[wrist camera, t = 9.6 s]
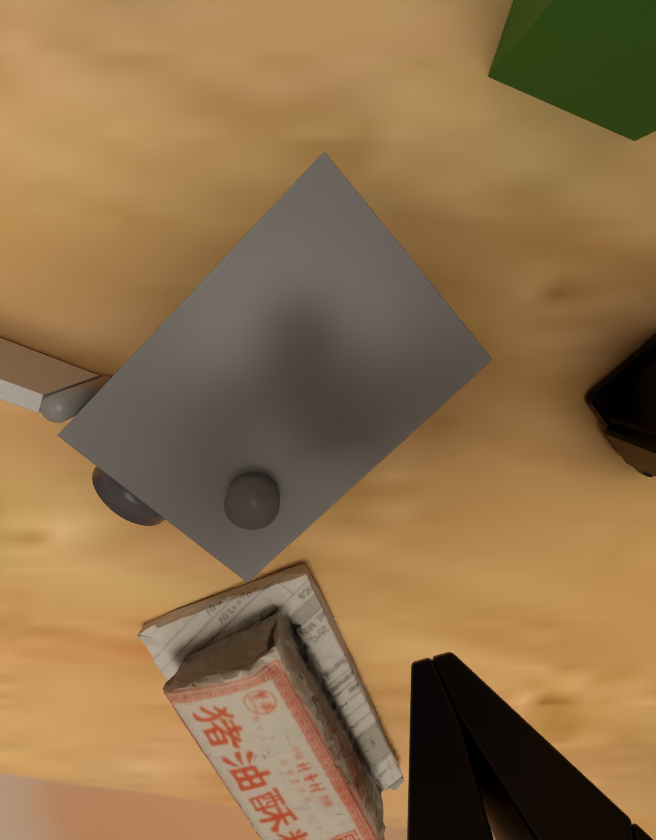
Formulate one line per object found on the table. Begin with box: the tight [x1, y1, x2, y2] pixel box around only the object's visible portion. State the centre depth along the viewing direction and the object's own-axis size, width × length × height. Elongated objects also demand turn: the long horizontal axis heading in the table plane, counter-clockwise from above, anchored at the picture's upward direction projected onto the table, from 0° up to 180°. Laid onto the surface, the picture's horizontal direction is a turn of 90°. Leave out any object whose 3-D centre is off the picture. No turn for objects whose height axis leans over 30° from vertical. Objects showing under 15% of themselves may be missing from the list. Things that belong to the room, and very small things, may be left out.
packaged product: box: [137, 564, 404, 840], centre depth 23 cm, size 18×5×10 cm
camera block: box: [57, 151, 492, 583], centre depth 16 cm, size 14×9×6 cm, turn 134°
